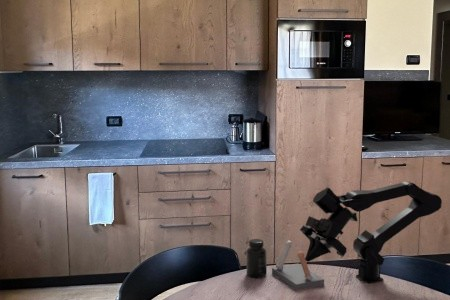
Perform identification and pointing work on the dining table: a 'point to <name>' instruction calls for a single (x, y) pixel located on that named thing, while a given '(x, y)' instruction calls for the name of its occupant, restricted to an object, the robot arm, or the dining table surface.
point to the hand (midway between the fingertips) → (306, 260)
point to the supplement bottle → (256, 259)
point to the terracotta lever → (304, 266)
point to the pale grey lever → (284, 255)
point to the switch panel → (297, 277)
